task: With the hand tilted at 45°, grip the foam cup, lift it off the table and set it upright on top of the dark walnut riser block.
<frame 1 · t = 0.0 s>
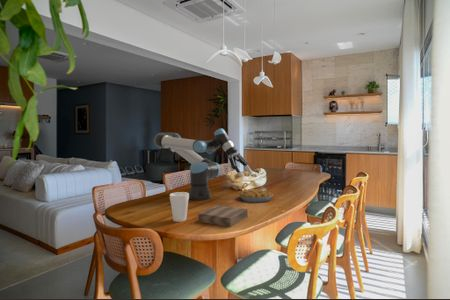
hand: (246, 175, 191), 15 cm above the table, tool tilted 35°, fingers open, 13 cm apart
walnut riser: (223, 219, 145), on the table
pie: (255, 199, 190), on the table
foam cup: (179, 220, 145), on the table
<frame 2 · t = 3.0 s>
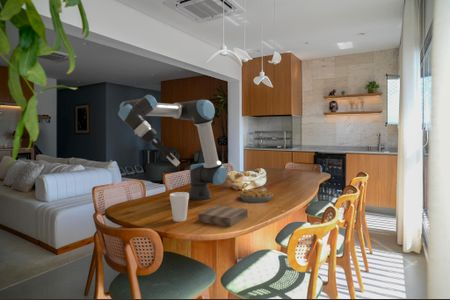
hand: (176, 163, 144), 28 cm above the table, tool tilted 45°, fingers open, 13 cm apart
nothing on the table moved.
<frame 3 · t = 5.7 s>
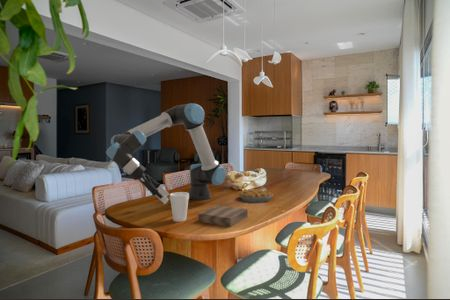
hand: (167, 198, 143), 11 cm above the table, tool tilted 45°, fingers open, 13 cm apart
nothing on the table moved.
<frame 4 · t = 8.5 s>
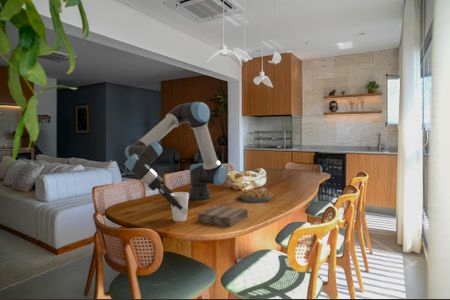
hand: (185, 210, 145), 5 cm above the table, tool tilted 45°, fingers closed on foam cup, 9 cm apart
foam cup: (179, 220, 145), on the table, touching gripper
everything else where it was.
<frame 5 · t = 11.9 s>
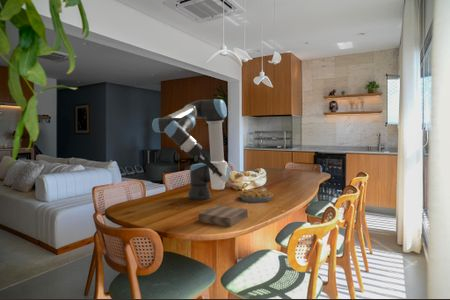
hand: (224, 178, 144), 20 cm above the table, tool tilted 45°, fingers closed on foam cup, 9 cm apart
foam cup: (218, 188, 144), point 16 cm above the table, touching gripper
everything else where it was.
when the fingers open (10 cm above the table, at t = 15.6 s): foam cup drops 1 cm, resting on walnut riser.
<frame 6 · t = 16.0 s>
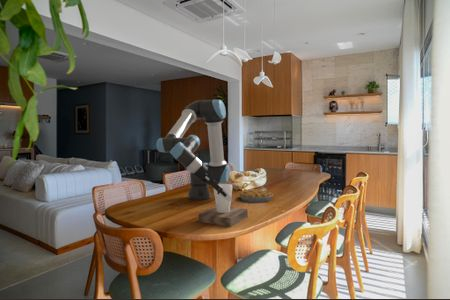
hand: (227, 197, 145), 11 cm above the table, tool tilted 45°, fingers open, 13 cm apart
foam cup: (223, 211, 145), point 4 cm above the table, touching walnut riser
everything else where it was.
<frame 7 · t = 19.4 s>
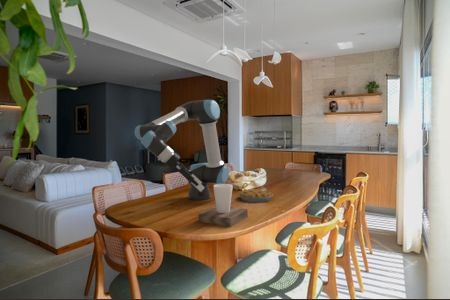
hand: (201, 186, 142), 17 cm above the table, tool tilted 45°, fingers open, 13 cm apart
nothing on the table moved.
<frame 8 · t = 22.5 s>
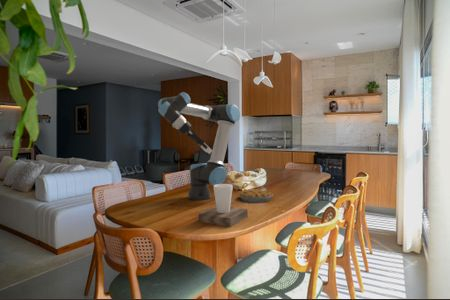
hand: (209, 151, 164), 33 cm above the table, tool tilted 45°, fingers open, 13 cm apart
nothing on the table moved.
at the end: foam cup inside the target area on the walnut riser (0.1 cm from its centre), point 3.8 cm above the walnut riser's base; foam cup tilted 0°; the gripper is holding nothing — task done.
